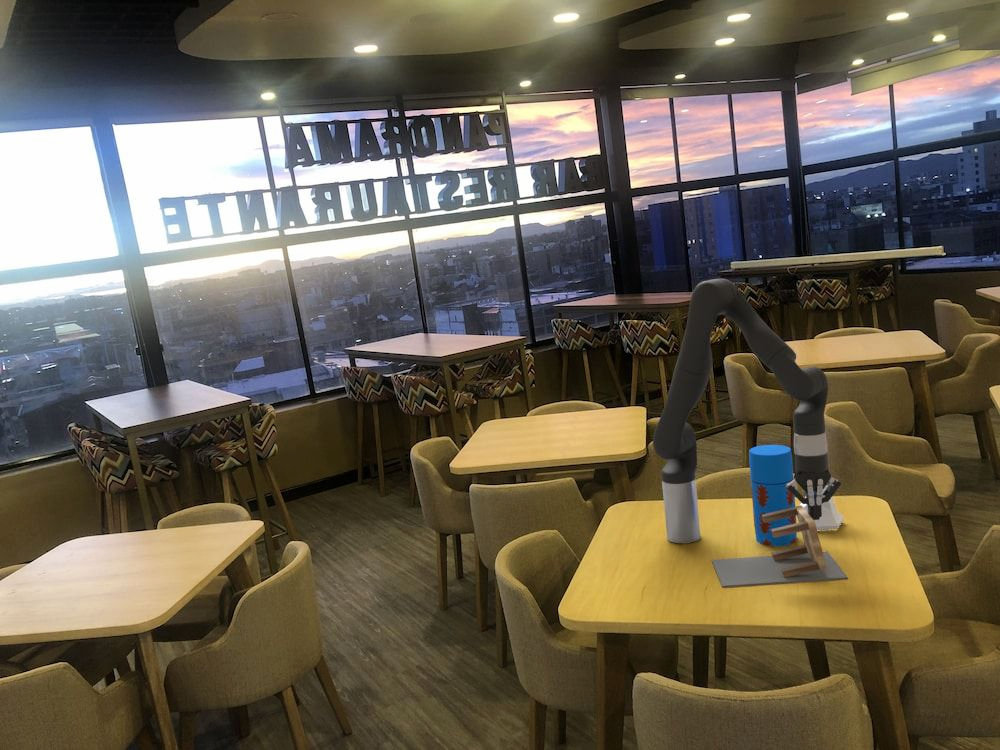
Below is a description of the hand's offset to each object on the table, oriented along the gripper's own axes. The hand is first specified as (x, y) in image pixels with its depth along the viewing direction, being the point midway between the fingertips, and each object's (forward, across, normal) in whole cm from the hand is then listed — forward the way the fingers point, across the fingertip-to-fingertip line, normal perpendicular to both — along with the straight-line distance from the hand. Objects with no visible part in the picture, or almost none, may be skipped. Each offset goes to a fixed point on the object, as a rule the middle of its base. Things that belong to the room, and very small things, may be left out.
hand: (815, 518), depth 196 cm
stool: (+11, +5, 0) cm, 12 cm away
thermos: (+12, +5, -20) cm, 24 cm away
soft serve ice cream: (+13, -9, -29) cm, 33 cm away
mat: (+12, +10, 0) cm, 16 cm away
